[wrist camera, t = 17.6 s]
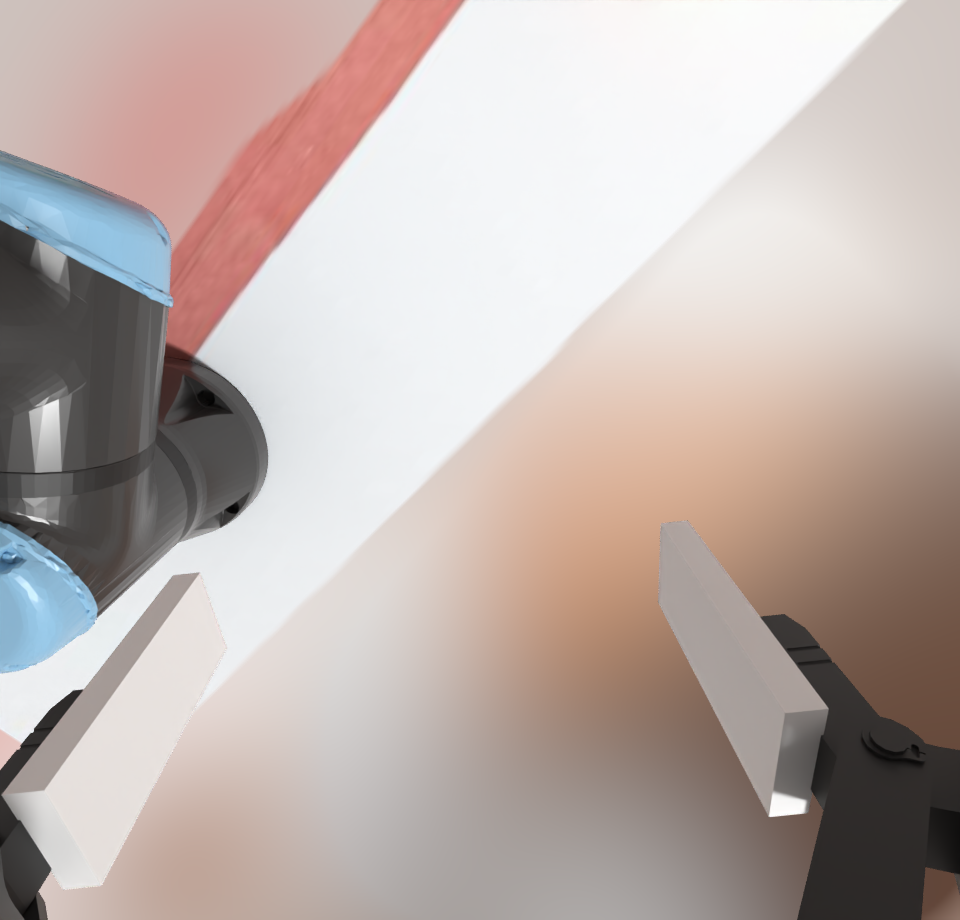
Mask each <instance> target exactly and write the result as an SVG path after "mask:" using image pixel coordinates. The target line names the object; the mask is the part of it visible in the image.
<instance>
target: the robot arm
mask: <svg viewBox="0 0 960 920" xmlns="http://www.w3.org/2000/svg"><path fill="white" fill-rule="evenodd" d="M170 272H171V240H170V237H169V234H168V231H167V229H166V228H165V226H164V224H163V223H162V222H161V221H160V219H159V218H158V217H157V216H156V215H154V213H152V212H151V211H149V210H148V209H147V208H145V207H143V206H142V205H139V204H137V203H135V202H133V201H131V200H129V199H126V198H124V197H122V196H119V195H117V194H114V193H112V192H109V191H107V190H104V189H102V188H99V187H97V186H94V185H92V184H89V183H87V182H84V181H81V180H79V179H76V178H74V177H71V176H68V175H66V174H63V173H60V172H58V171H55V170H52V169H50V168H47V167H44V166H41V165H38V164H36V163H33V162H30V161H28V160H25V159H22V158H19V157H17V156H14V155H11V154H8V153H6V152H3V151H0V673H8V672H14V671H19V670H23V669H26V668H28V667H29V666H32V665H36V664H37V663H40V662H42V661H44V660H46V659H48V658H49V657H51V656H52V655H53V654H55V653H56V652H57V651H59V650H60V649H61V648H63V647H64V646H65V645H67V644H68V643H69V642H71V641H72V640H73V639H75V638H76V637H77V636H79V635H82V634H84V633H85V632H86V631H88V630H89V629H90V628H91V627H92V625H93V624H95V622H94V621H95V620H96V619H97V618H98V617H99V616H100V615H101V614H102V613H103V612H104V611H105V610H106V609H107V608H108V607H109V606H110V605H111V604H113V603H114V602H115V601H116V600H117V599H118V598H119V597H120V596H121V595H122V594H123V593H124V592H125V591H127V590H128V589H129V588H130V587H131V586H132V585H133V584H134V583H135V582H136V581H137V580H138V579H139V578H141V577H142V576H143V575H144V574H145V573H146V572H147V571H148V570H149V569H150V568H151V567H152V566H153V565H155V564H156V563H157V562H158V561H159V560H160V559H161V558H162V557H163V556H164V555H165V554H166V553H167V552H169V551H170V550H171V549H172V548H173V547H174V546H175V545H176V544H177V543H179V542H182V541H185V540H188V539H191V538H194V537H197V536H200V535H203V534H206V533H209V532H212V531H215V530H217V529H219V528H222V527H223V526H225V525H227V524H228V523H230V522H231V521H233V520H234V519H235V518H237V517H238V516H239V515H240V514H241V513H242V512H243V511H244V510H245V509H246V508H247V507H248V506H249V505H250V504H251V503H252V502H253V500H254V499H255V498H256V496H257V495H258V493H259V492H260V490H261V488H262V486H263V483H264V480H265V477H266V473H267V467H268V450H267V443H266V439H265V435H264V432H263V429H262V426H261V424H260V422H259V420H258V418H257V416H256V414H255V412H254V411H253V409H252V407H251V406H250V405H249V403H248V402H247V401H246V399H245V398H244V397H243V396H242V395H241V394H240V393H239V392H238V391H237V389H235V388H234V387H233V386H232V385H231V384H230V383H229V382H227V381H226V380H225V379H223V378H222V377H221V376H219V375H218V374H216V373H214V372H213V371H211V370H209V369H207V368H205V367H202V366H200V365H198V364H195V363H192V362H189V361H185V360H181V359H175V358H164V354H165V344H166V333H167V323H168V312H169V307H173V302H174V301H173V298H172V297H171V295H170ZM658 603H659V605H660V607H661V609H662V611H663V613H664V614H665V616H666V618H667V620H668V622H669V624H670V626H671V628H672V630H673V632H674V634H675V636H676V637H677V640H678V642H679V643H680V645H681V647H682V649H683V651H684V653H685V655H686V657H687V659H688V661H689V663H690V665H691V667H692V669H693V671H694V673H695V675H696V677H697V679H698V680H699V682H700V684H701V686H702V688H703V690H704V692H705V694H706V696H707V698H708V700H709V702H710V704H711V705H712V708H713V709H714V711H715V713H716V715H717V717H718V719H719V721H720V723H721V725H722V727H723V729H724V731H725V733H726V735H727V737H728V739H729V740H730V742H731V744H732V746H733V748H734V750H735V752H736V754H737V756H738V758H739V760H740V762H741V764H742V765H743V767H744V769H745V772H746V773H747V775H748V777H749V779H750V781H751V783H752V785H753V787H754V789H755V791H756V793H757V795H758V797H759V799H760V801H761V803H762V804H763V806H764V808H765V810H766V812H767V814H768V816H769V817H773V816H782V815H792V814H801V813H808V811H809V806H810V800H811V796H812V792H813V794H814V796H815V797H816V799H817V801H818V802H819V804H820V805H821V807H822V809H823V810H824V811H823V816H822V820H821V824H820V828H819V832H818V836H817V840H816V844H815V849H814V852H813V857H812V861H811V865H810V869H809V873H808V877H807V881H806V885H805V890H804V894H803V898H802V902H801V906H800V910H799V915H798V919H797V920H921V914H922V902H923V889H924V877H925V867H928V868H933V869H937V870H942V871H947V872H951V873H954V874H955V878H956V882H957V885H958V889H959V893H960V750H955V749H949V748H942V747H937V746H933V745H929V744H925V743H924V741H923V740H922V739H921V738H920V737H919V736H917V735H916V734H915V733H914V732H913V731H911V730H910V729H909V728H907V727H905V726H903V725H901V724H899V723H897V722H895V721H893V720H891V719H887V718H883V717H880V716H879V715H878V714H877V713H876V712H875V711H874V710H873V708H872V707H871V706H870V705H869V703H867V701H866V700H865V699H864V697H863V696H862V695H861V694H860V693H859V692H858V690H857V689H856V688H855V687H854V686H853V684H852V683H851V682H850V681H849V680H848V678H847V677H846V676H845V675H844V674H843V672H842V671H841V670H840V669H839V668H838V666H837V665H836V664H835V663H832V661H831V658H830V657H829V656H828V655H827V653H826V652H825V651H824V650H823V649H821V648H820V645H819V644H818V643H817V641H816V640H815V639H814V638H813V637H812V635H811V634H810V633H809V632H808V631H807V630H806V629H805V628H804V627H803V626H801V625H800V624H798V623H797V622H795V621H794V620H792V619H791V618H789V617H788V616H786V615H785V614H781V615H772V616H763V617H760V616H759V615H758V614H757V612H756V611H755V610H754V608H753V607H752V606H751V604H750V603H749V602H748V600H747V599H746V598H745V596H744V595H743V594H742V592H741V591H740V590H739V588H738V587H737V586H736V584H735V583H734V582H733V580H732V579H731V578H730V577H729V575H728V574H727V572H726V571H725V570H724V568H723V567H722V566H721V564H720V563H719V562H718V560H717V559H716V558H715V556H714V555H713V554H712V552H711V551H710V550H709V548H708V547H707V546H706V544H705V543H704V542H703V540H702V539H701V537H700V536H699V535H698V534H697V532H696V531H695V529H694V528H693V527H692V526H691V524H690V523H689V522H688V521H680V522H669V523H661V531H660V565H659V598H658ZM226 649H227V647H226V644H225V641H224V638H223V635H222V633H221V630H220V627H219V624H218V621H217V619H216V616H215V613H214V610H213V607H212V605H211V602H210V599H209V596H208V594H207V591H206V588H205V585H204V582H203V580H202V577H201V574H200V573H191V574H182V575H173V576H172V578H171V579H170V580H169V581H168V583H167V584H166V585H165V587H164V588H163V589H162V590H161V592H160V593H159V594H158V596H157V597H156V598H155V599H154V601H153V602H152V603H151V604H150V606H149V607H148V608H147V610H146V611H145V612H144V613H143V615H142V616H141V617H140V619H139V620H138V621H137V622H136V624H135V625H134V626H133V627H132V629H131V630H130V631H129V633H128V634H127V635H126V636H125V638H124V639H123V640H122V642H121V643H120V644H119V645H118V647H117V648H116V649H115V650H114V652H113V653H112V654H111V656H110V657H109V658H108V659H107V661H106V662H105V663H104V665H103V666H102V667H101V668H100V670H99V671H98V672H97V673H96V675H95V676H94V677H93V679H92V680H91V681H90V682H89V684H88V685H87V686H86V688H85V689H84V690H74V691H72V692H71V693H70V694H69V695H67V696H66V697H65V698H64V699H62V700H61V701H60V702H59V703H57V704H56V705H55V706H54V707H52V708H51V709H50V710H49V711H48V713H47V714H46V715H45V716H44V717H43V719H42V720H41V721H40V722H39V724H38V725H37V726H36V727H35V728H34V732H33V733H30V735H29V736H28V737H27V738H26V739H25V741H24V742H23V743H22V744H21V748H20V750H17V751H16V752H15V753H14V754H13V755H12V756H11V758H10V759H9V760H8V761H7V763H6V764H5V765H4V766H3V768H2V769H1V770H0V920H48V918H47V912H46V906H45V902H44V900H43V898H42V897H41V895H40V893H39V892H38V891H39V889H40V888H41V886H42V884H43V883H44V881H45V880H46V878H47V876H48V875H49V873H50V871H51V872H52V874H53V875H54V877H55V878H56V880H57V881H58V883H59V884H60V886H61V887H62V889H63V890H65V889H75V888H85V887H93V886H102V884H103V882H104V880H105V878H106V876H107V874H108V873H109V871H110V869H111V867H112V865H113V863H114V861H115V859H116V857H117V855H118V854H119V852H120V850H121V848H122V846H123V844H124V842H125V840H126V838H127V836H128V835H129V833H130V831H131V829H132V827H133V825H134V823H135V822H136V820H137V818H138V816H139V814H140V812H141V810H142V808H143V806H144V804H145V803H146V801H147V799H148V797H149V795H150V793H151V791H152V789H153V787H154V786H155V784H156V782H157V780H158V778H159V776H160V774H161V772H162V770H163V768H164V767H165V765H166V763H167V761H168V759H169V757H170V755H171V753H172V751H173V750H174V748H175V746H176V744H177V742H178V740H179V738H180V736H181V734H182V733H183V731H184V729H185V727H186V725H187V723H188V721H189V719H190V717H191V716H192V714H193V712H194V710H195V708H196V706H197V704H198V702H199V700H200V698H201V697H202V695H203V693H204V691H205V689H206V687H207V685H208V683H209V681H210V680H211V678H212V676H213V674H214V672H215V670H216V668H217V666H218V664H219V662H220V661H221V659H222V657H223V655H224V653H225V651H226Z"/></svg>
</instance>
